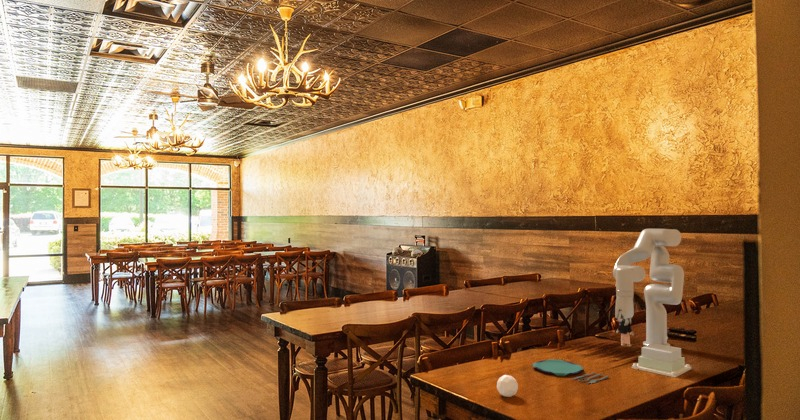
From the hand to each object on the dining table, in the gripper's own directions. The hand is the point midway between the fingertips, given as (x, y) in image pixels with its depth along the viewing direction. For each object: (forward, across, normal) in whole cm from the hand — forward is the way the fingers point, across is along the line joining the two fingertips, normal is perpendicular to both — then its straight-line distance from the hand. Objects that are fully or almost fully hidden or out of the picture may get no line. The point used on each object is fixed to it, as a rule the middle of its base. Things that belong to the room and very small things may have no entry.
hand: (625, 332), depth 245 cm
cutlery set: (+11, +42, -6) cm, 43 cm away
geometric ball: (+9, +84, -6) cm, 85 cm away
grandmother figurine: (+6, 0, 0) cm, 6 cm away
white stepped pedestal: (+12, +5, +18) cm, 22 cm away
